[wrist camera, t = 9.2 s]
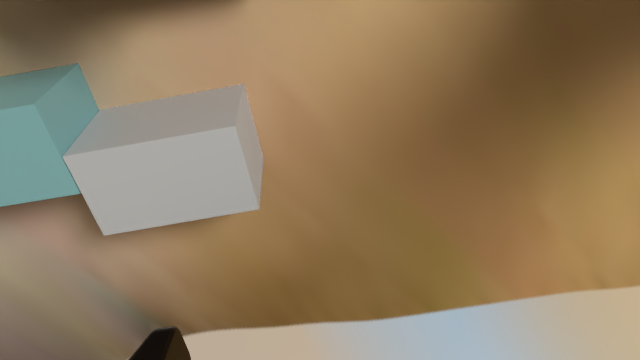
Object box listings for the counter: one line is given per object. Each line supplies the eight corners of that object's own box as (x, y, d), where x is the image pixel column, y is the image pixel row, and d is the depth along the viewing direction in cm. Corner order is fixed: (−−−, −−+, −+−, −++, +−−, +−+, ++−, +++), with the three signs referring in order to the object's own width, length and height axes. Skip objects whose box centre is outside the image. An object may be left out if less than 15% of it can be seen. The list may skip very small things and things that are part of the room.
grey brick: (244, 82, 20) (235, 126, 16) (263, 156, 21) (259, 209, 18) (100, 108, 20) (62, 156, 16) (132, 179, 22) (103, 235, 18)
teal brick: (79, 62, 19) (33, 104, 15) (114, 141, 21) (80, 193, 17) (-70, 88, 19) (-147, 134, 16) (-22, 163, 21) (-82, 220, 17)
